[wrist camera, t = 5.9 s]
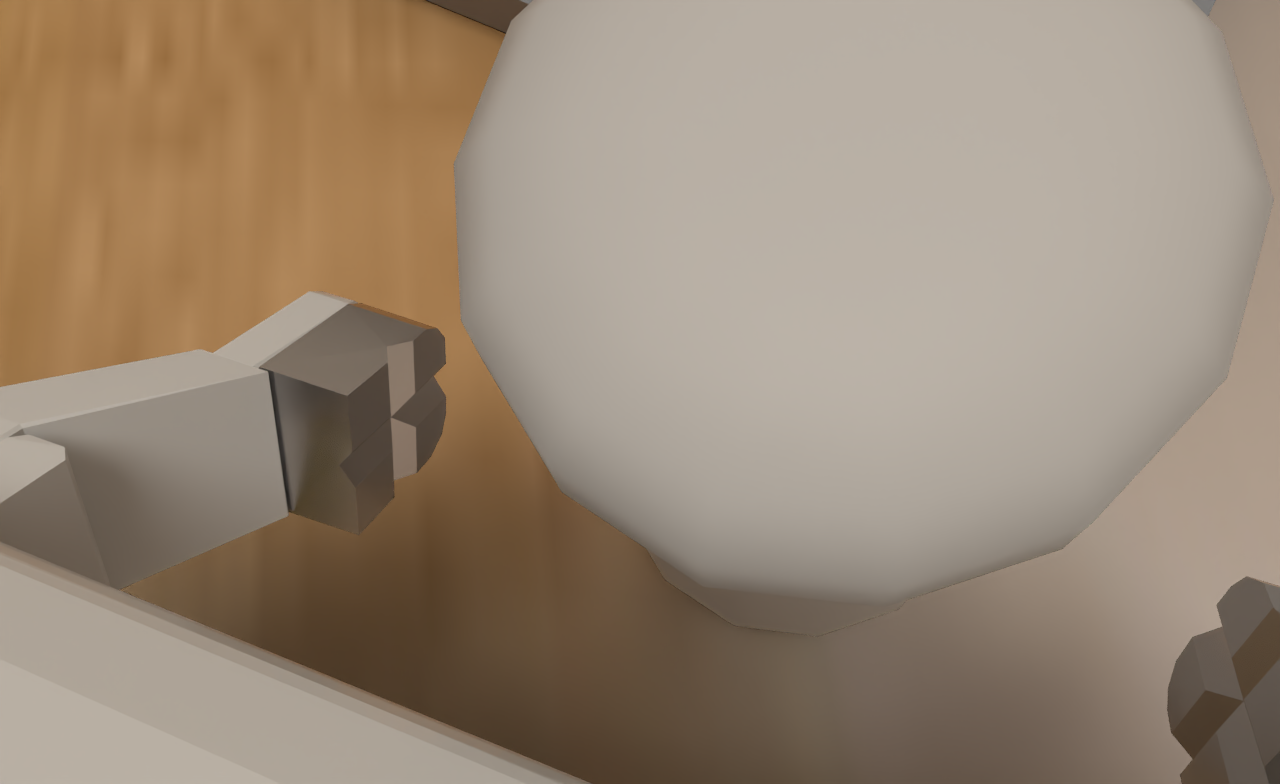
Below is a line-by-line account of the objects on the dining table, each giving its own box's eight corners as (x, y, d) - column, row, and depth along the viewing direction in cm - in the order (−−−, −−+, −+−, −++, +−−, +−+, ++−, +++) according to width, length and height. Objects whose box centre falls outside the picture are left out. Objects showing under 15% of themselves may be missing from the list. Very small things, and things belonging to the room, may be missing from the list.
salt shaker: (696, 290, 18) (506, -447, 5) (981, 374, 16) (1684, -319, 4) (598, 566, 17) (60, 521, 4) (892, 675, 15) (1420, 1097, 3)
